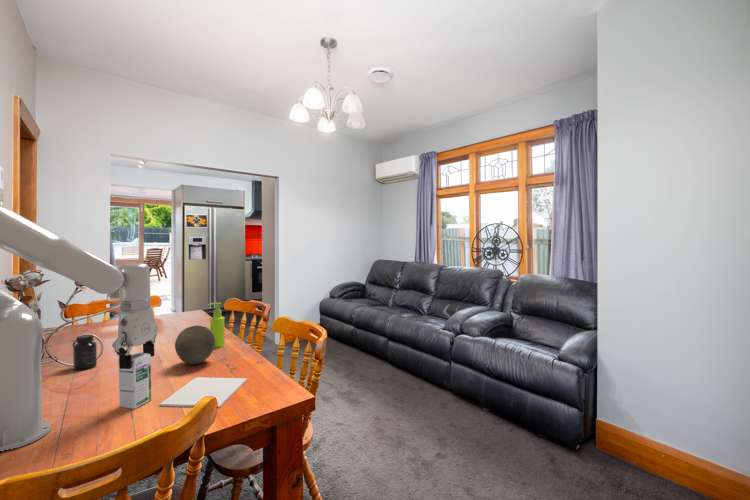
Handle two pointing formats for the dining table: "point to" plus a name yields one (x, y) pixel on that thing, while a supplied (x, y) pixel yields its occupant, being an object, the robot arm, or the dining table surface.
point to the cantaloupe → (195, 344)
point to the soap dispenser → (218, 326)
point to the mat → (204, 391)
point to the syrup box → (135, 382)
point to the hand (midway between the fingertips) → (137, 362)
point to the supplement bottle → (84, 353)
